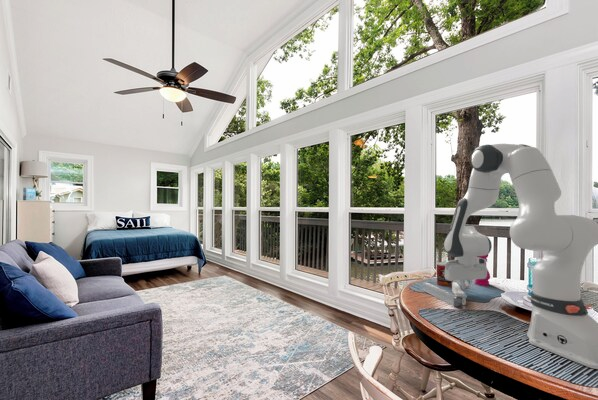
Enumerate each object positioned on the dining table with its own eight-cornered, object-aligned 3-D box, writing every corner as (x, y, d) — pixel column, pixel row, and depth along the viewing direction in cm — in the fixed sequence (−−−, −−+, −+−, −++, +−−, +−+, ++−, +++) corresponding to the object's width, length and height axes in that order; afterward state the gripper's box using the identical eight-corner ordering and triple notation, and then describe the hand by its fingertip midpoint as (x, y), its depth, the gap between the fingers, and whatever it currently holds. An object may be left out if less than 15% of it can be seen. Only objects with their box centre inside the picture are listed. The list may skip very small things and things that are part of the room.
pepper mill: (477, 285, 147) (477, 247, 147) (471, 282, 154) (471, 245, 154) (493, 286, 146) (492, 247, 146) (486, 282, 153) (485, 245, 153)
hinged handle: (467, 308, 115) (467, 296, 115) (456, 307, 117) (456, 295, 117) (456, 291, 138) (456, 281, 138) (447, 290, 139) (447, 280, 139)
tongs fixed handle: (464, 307, 117) (464, 298, 117) (457, 308, 116) (457, 298, 116) (428, 290, 140) (428, 282, 140) (422, 290, 139) (422, 282, 139)
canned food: (435, 284, 149) (435, 263, 150) (438, 281, 156) (437, 261, 156) (452, 287, 145) (451, 265, 145) (454, 283, 152) (453, 262, 152)
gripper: (450, 261, 129) (450, 292, 128) (489, 259, 132) (490, 289, 132) (441, 259, 135) (441, 288, 135) (478, 257, 138) (479, 285, 138)
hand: (465, 289), depth 133 cm, fingers closed
